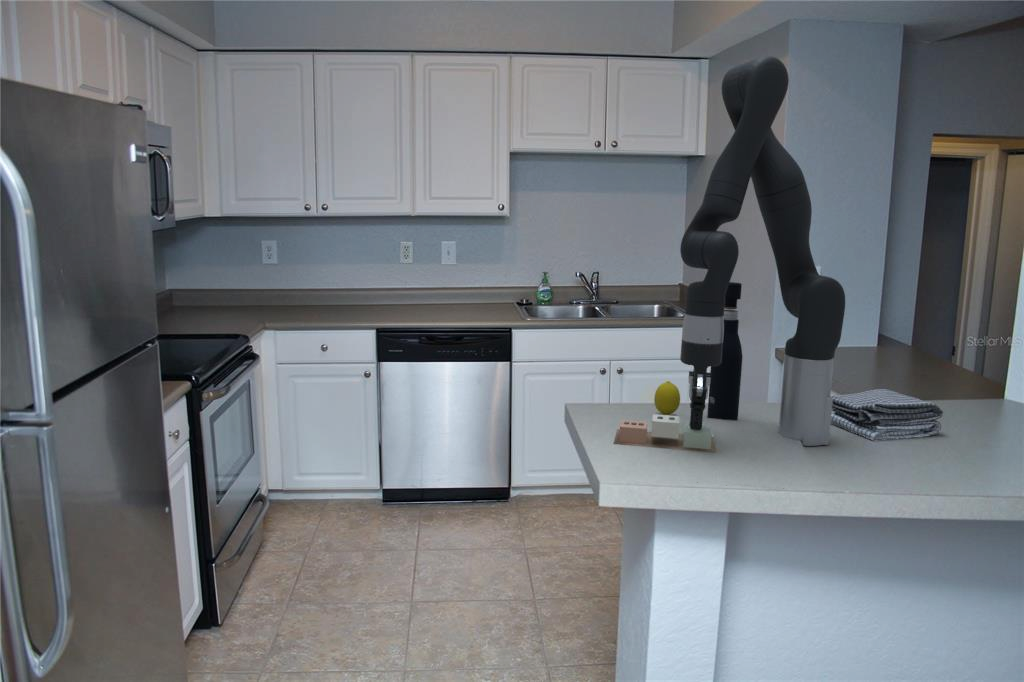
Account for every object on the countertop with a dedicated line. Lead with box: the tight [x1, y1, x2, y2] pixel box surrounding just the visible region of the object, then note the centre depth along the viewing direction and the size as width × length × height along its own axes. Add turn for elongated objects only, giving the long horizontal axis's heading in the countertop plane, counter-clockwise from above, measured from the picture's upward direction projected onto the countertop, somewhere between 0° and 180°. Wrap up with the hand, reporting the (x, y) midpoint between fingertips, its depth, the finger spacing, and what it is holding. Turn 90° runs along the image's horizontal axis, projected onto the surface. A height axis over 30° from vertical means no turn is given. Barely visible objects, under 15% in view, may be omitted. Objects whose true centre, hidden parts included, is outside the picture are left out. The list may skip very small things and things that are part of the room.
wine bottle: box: [706, 281, 743, 421], centre depth 171 cm, size 6×6×30 cm
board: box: [612, 428, 717, 453], centre depth 155 cm, size 19×10×1 cm, turn 78°
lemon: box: [653, 380, 681, 416], centre depth 175 cm, size 6×6×8 cm
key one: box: [683, 424, 713, 449], centre depth 152 cm, size 5×5×3 cm
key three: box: [619, 419, 648, 444], centre depth 154 cm, size 5×5×3 cm
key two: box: [651, 413, 680, 439], centre depth 153 cm, size 5×5×3 cm
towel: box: [830, 388, 944, 441], centre depth 170 cm, size 15×18×8 cm
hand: (695, 428), depth 152 cm, fingers closed
